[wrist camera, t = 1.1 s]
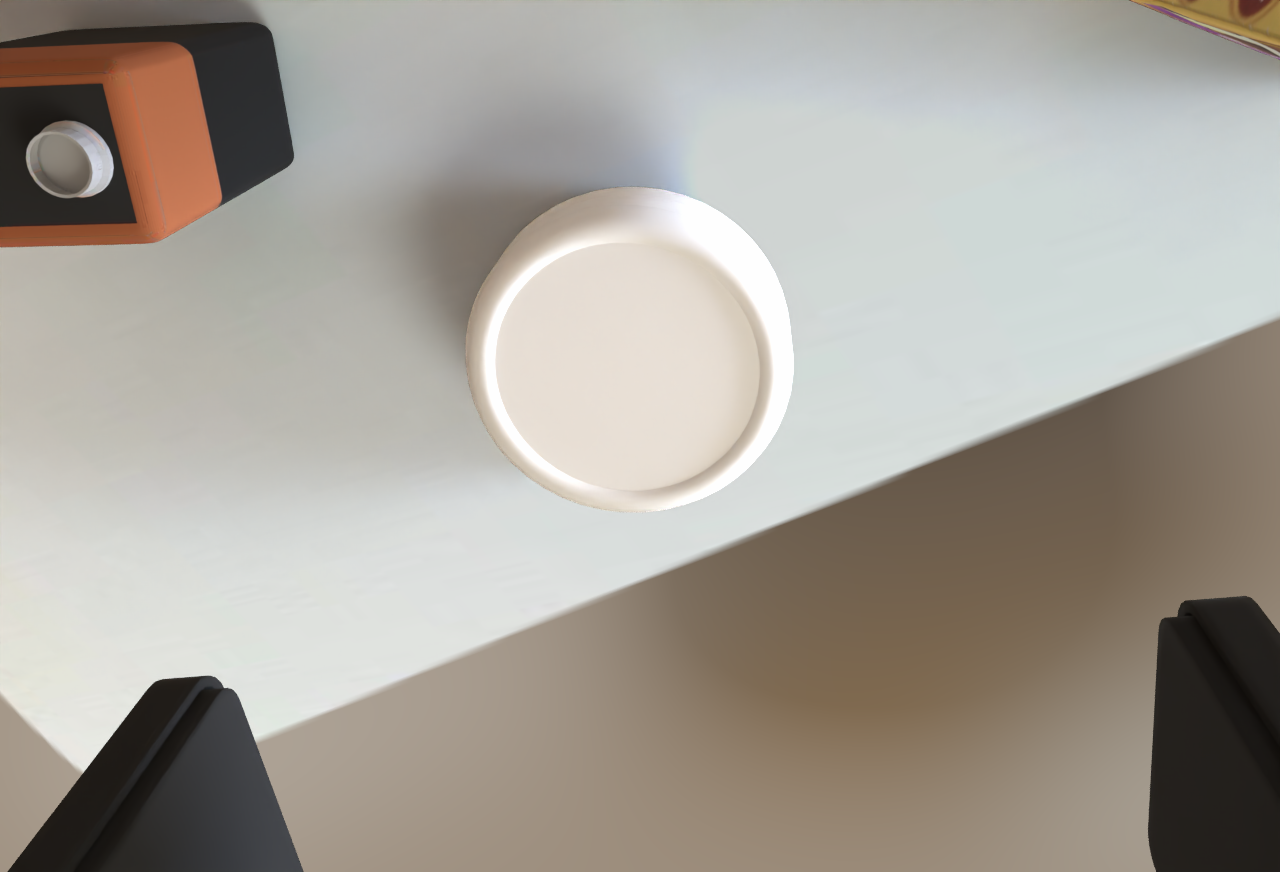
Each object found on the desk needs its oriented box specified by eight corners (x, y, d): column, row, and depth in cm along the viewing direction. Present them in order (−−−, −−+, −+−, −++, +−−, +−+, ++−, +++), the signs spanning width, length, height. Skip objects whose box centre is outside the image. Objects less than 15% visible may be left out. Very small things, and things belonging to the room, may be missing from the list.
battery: (59, 28, 33) (-192, 74, 24) (275, 19, 33) (99, 62, 24) (97, 173, 35) (-124, 264, 26) (301, 166, 35) (147, 258, 26)
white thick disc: (729, 134, 33) (728, 158, 30) (828, 418, 37) (836, 467, 34) (434, 245, 35) (405, 279, 32) (556, 502, 39) (540, 555, 36)
